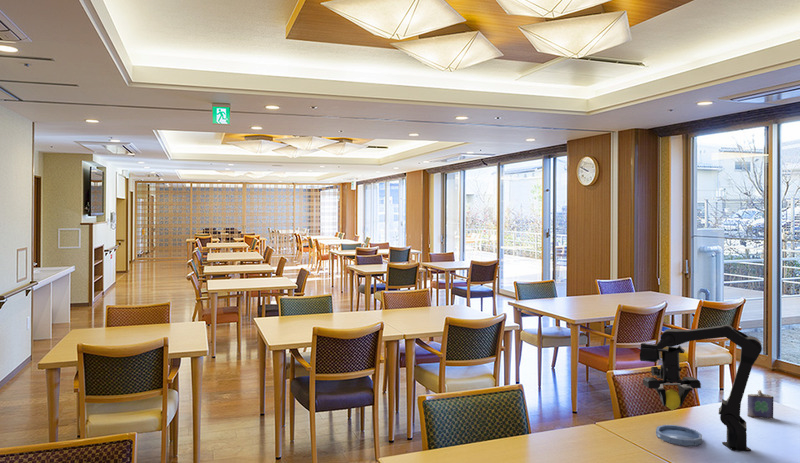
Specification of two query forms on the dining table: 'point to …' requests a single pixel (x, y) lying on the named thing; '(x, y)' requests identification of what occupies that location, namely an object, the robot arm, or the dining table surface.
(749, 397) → the flask
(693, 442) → the light blue round dish
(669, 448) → the dining table surface
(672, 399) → the lemon
